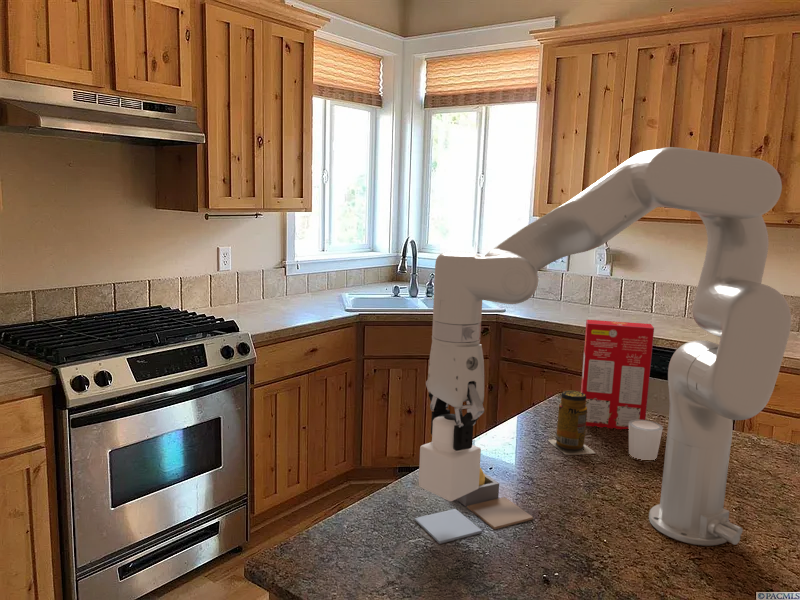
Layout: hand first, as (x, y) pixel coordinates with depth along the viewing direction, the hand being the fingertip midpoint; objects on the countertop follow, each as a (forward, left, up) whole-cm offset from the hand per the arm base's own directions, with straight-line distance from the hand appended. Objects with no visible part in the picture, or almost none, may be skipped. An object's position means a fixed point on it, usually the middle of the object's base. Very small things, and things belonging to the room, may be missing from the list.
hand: (450, 440), depth 103 cm
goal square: (0, 0, -15) cm, 15 cm away
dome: (+8, -10, -14) cm, 19 cm away
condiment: (+18, -43, -15) cm, 49 cm away
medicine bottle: (0, 0, -8) cm, 8 cm away
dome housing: (+8, -10, -15) cm, 20 cm away
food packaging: (+25, -62, -15) cm, 69 cm away
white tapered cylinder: (+8, -54, -15) cm, 57 cm away
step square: (0, -11, -15) cm, 18 cm away
